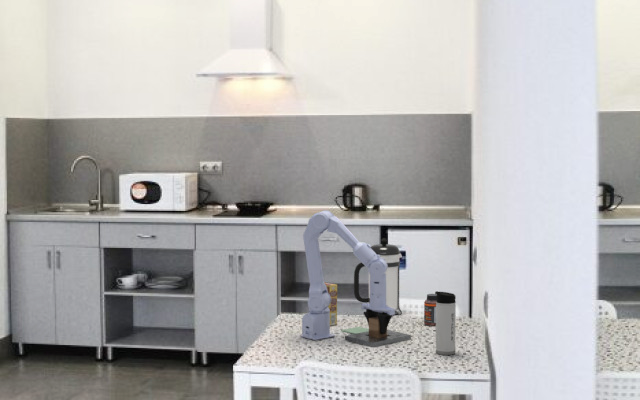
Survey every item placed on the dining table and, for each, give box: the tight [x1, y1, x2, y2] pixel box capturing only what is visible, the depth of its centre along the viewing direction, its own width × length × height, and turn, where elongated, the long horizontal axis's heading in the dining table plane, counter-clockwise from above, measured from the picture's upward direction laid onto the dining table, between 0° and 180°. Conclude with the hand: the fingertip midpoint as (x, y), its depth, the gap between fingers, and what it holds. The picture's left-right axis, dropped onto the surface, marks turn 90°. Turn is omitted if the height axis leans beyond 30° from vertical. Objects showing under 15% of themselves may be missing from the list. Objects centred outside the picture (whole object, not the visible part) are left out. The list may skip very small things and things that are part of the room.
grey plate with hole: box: [344, 329, 412, 348], centre depth 313 cm, size 18×14×2 cm
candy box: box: [324, 281, 338, 327], centre depth 339 cm, size 9×4×15 cm, turn 39°
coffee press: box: [353, 237, 403, 316], centre depth 357 cm, size 17×16×30 cm
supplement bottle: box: [423, 293, 437, 327], centre depth 338 cm, size 6×6×11 cm
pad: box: [340, 326, 369, 335], centre depth 326 cm, size 9×9×1 cm
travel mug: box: [434, 291, 457, 356], centre depth 293 cm, size 6×7×20 cm
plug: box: [368, 317, 387, 338], centre depth 312 cm, size 4×4×8 cm
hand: (377, 332), depth 313 cm, fingers closed on plug, 4 cm apart
